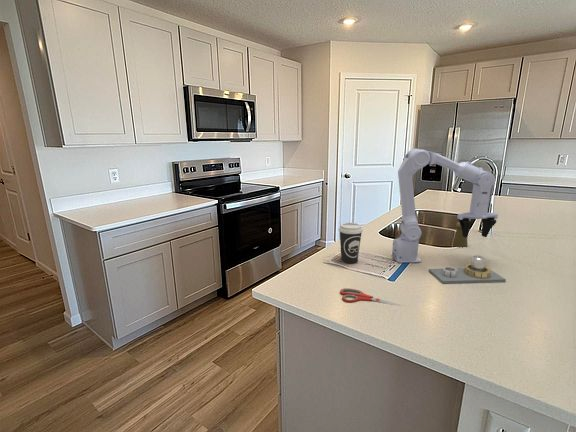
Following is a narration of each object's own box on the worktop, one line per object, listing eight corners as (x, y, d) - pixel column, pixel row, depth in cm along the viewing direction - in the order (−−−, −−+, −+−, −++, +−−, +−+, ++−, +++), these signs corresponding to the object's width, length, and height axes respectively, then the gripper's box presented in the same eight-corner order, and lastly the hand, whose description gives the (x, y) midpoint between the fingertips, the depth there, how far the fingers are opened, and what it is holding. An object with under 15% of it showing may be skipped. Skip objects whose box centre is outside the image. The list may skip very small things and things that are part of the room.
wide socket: (472, 278, 107) (473, 273, 106) (459, 269, 114) (460, 264, 114) (495, 278, 107) (496, 272, 106) (480, 268, 115) (481, 263, 114)
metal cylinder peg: (474, 276, 109) (477, 260, 107) (467, 271, 113) (469, 255, 111) (485, 275, 109) (488, 259, 107) (478, 270, 113) (480, 255, 111)
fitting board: (442, 283, 106) (442, 281, 105) (428, 271, 115) (428, 268, 115) (505, 281, 106) (505, 279, 106) (486, 269, 116) (486, 267, 116)
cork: (469, 248, 138) (472, 224, 135) (454, 247, 139) (457, 223, 136) (464, 243, 144) (468, 220, 141) (450, 242, 145) (453, 220, 142)
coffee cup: (363, 258, 128) (365, 223, 125) (358, 266, 120) (360, 230, 116) (341, 254, 132) (342, 221, 128) (334, 263, 124) (335, 227, 120)
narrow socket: (446, 277, 108) (446, 272, 107) (438, 271, 113) (439, 266, 112) (460, 277, 108) (461, 271, 108) (452, 271, 113) (453, 266, 112)
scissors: (410, 310, 91) (411, 305, 91) (338, 303, 95) (339, 298, 95) (406, 297, 98) (407, 293, 98) (340, 291, 103) (340, 287, 102)
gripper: (467, 205, 113) (462, 240, 117) (505, 204, 114) (499, 239, 117) (456, 201, 120) (452, 234, 124) (492, 200, 121) (487, 233, 124)
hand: (474, 236), depth 121 cm, fingers open, 7 cm apart
